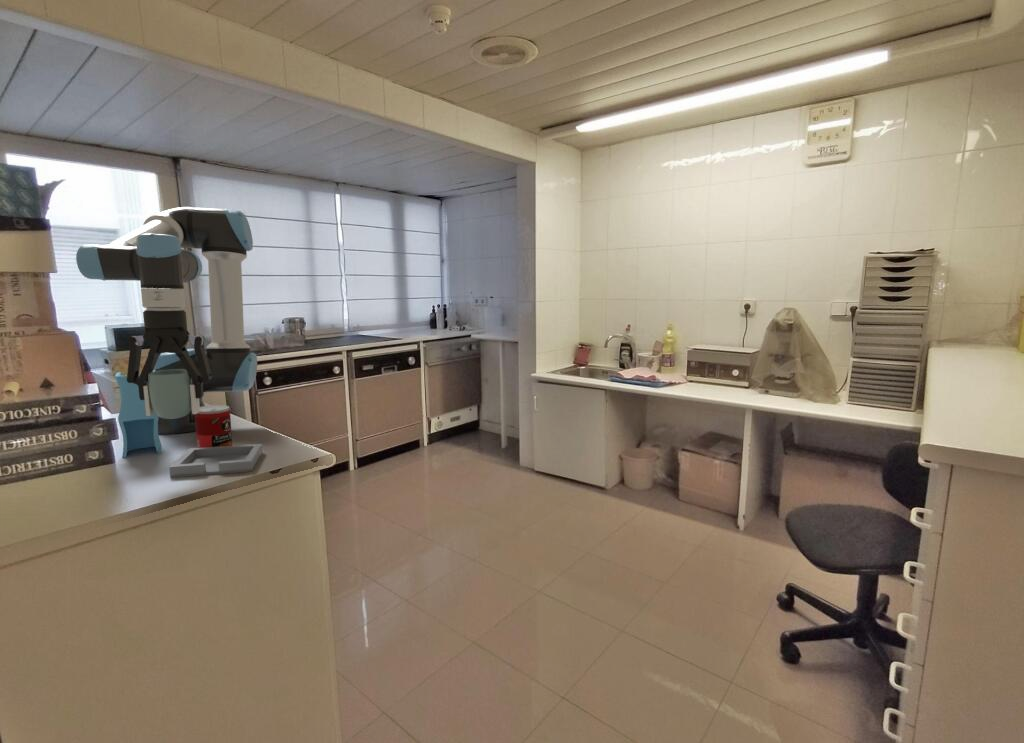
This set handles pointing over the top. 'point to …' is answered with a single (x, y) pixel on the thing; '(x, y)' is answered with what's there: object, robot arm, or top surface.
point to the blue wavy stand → (136, 419)
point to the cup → (170, 393)
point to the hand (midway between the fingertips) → (173, 413)
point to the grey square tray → (216, 460)
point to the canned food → (213, 426)
